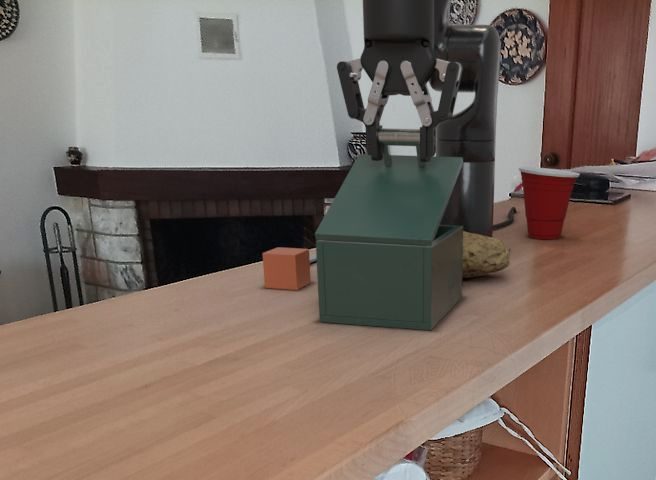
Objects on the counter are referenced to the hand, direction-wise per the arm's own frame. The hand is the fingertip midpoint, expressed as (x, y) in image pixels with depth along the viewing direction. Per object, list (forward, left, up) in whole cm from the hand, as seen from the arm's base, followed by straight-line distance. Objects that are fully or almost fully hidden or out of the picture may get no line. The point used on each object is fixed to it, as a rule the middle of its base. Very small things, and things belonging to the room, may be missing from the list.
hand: (401, 160), depth 88 cm
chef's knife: (-21, -21, -17) cm, 34 cm away
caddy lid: (+3, 0, -4) cm, 5 cm away
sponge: (-16, 0, -17) cm, 23 cm away
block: (-5, -17, -17) cm, 24 cm away
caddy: (+3, 0, -17) cm, 17 cm away
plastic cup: (-55, +11, -17) cm, 59 cm away
